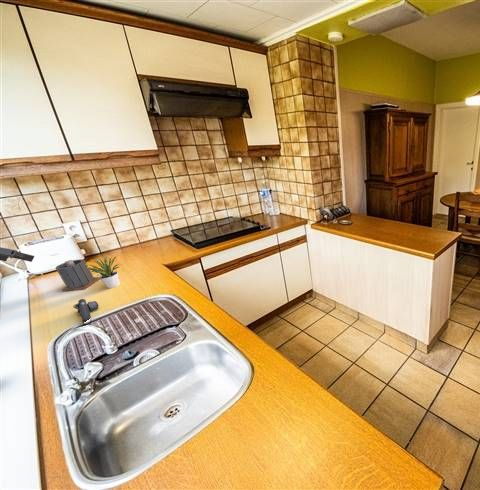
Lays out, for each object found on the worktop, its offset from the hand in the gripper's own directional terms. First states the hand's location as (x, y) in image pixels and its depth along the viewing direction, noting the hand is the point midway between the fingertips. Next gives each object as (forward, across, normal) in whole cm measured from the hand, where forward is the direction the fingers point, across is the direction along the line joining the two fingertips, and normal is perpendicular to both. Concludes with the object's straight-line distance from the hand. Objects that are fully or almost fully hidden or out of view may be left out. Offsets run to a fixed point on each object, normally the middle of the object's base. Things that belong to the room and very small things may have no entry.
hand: (19, 258), depth 118 cm
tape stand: (+23, +6, -7) cm, 25 cm away
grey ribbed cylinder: (+22, +6, -6) cm, 24 cm away
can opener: (+7, +38, -23) cm, 45 cm away
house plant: (+24, +24, -6) cm, 35 cm away
